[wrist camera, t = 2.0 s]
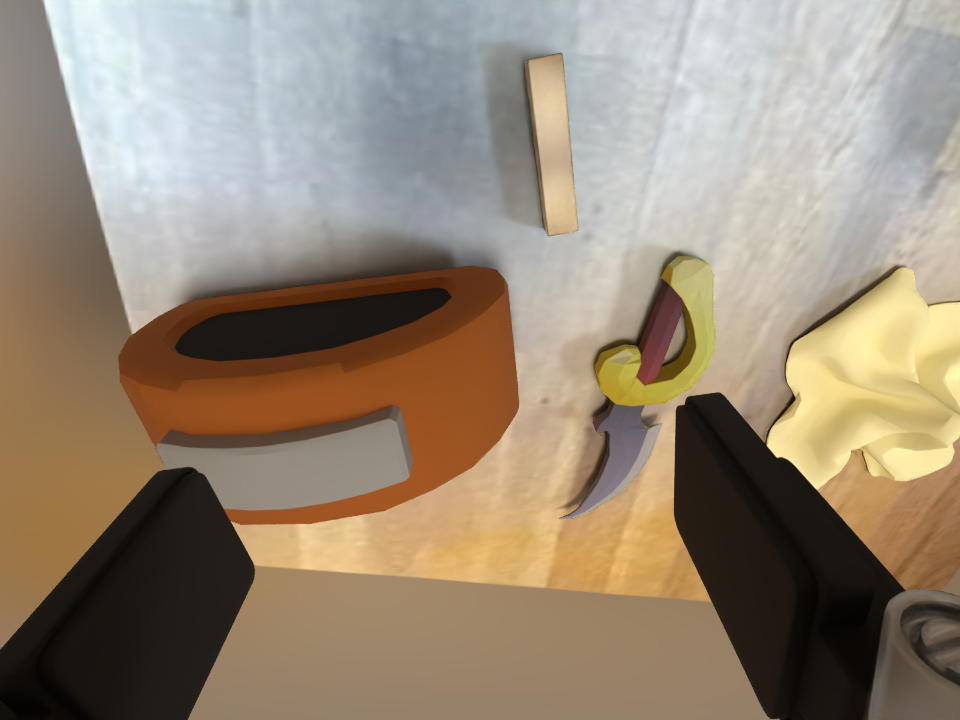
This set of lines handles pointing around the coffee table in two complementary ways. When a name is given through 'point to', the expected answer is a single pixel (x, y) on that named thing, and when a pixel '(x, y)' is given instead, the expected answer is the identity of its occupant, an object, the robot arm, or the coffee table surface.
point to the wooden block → (552, 142)
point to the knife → (651, 376)
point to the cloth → (875, 387)
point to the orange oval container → (329, 390)
